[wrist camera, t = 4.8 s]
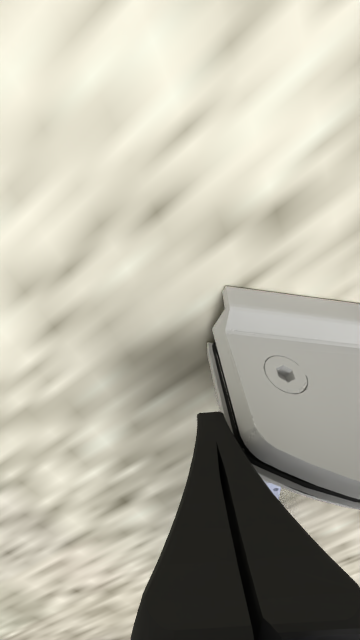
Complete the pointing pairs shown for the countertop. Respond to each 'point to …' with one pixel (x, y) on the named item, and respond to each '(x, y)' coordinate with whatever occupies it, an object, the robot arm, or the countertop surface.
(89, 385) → the countertop surface
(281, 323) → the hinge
